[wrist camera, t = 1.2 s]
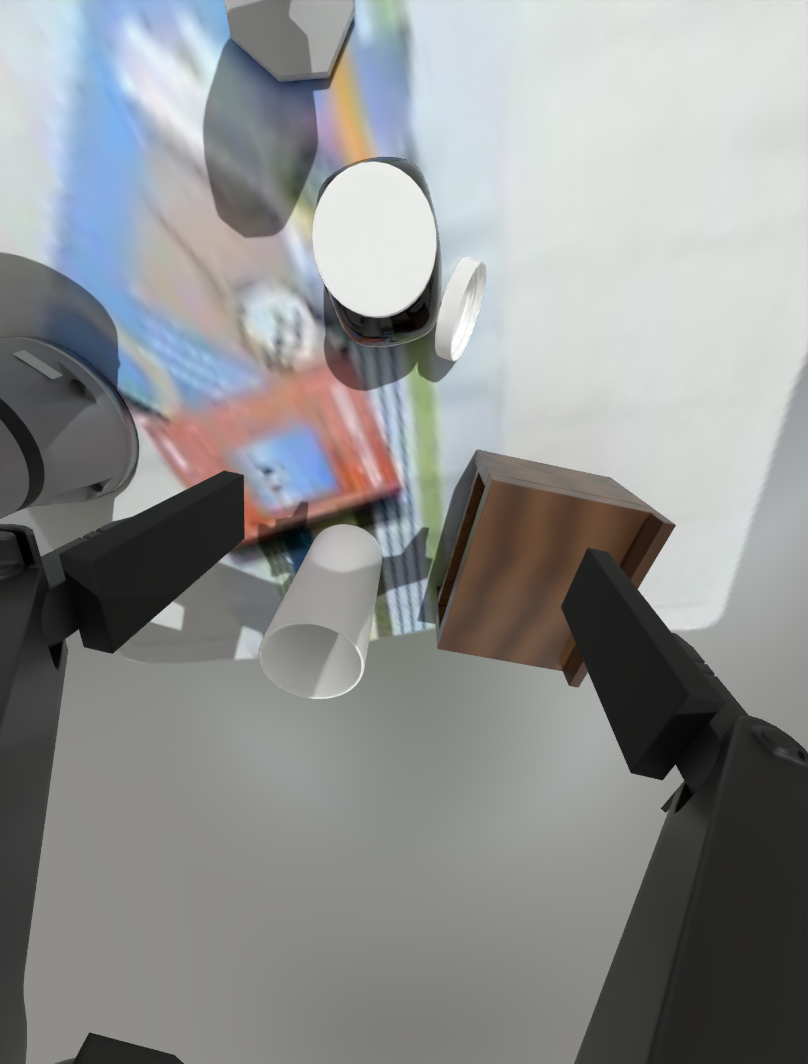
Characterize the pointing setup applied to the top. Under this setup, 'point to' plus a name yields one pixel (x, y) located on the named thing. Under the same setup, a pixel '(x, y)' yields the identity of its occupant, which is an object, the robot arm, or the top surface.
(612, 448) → the top surface
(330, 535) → the cup
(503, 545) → the small wooden box
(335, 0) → the wineglass
